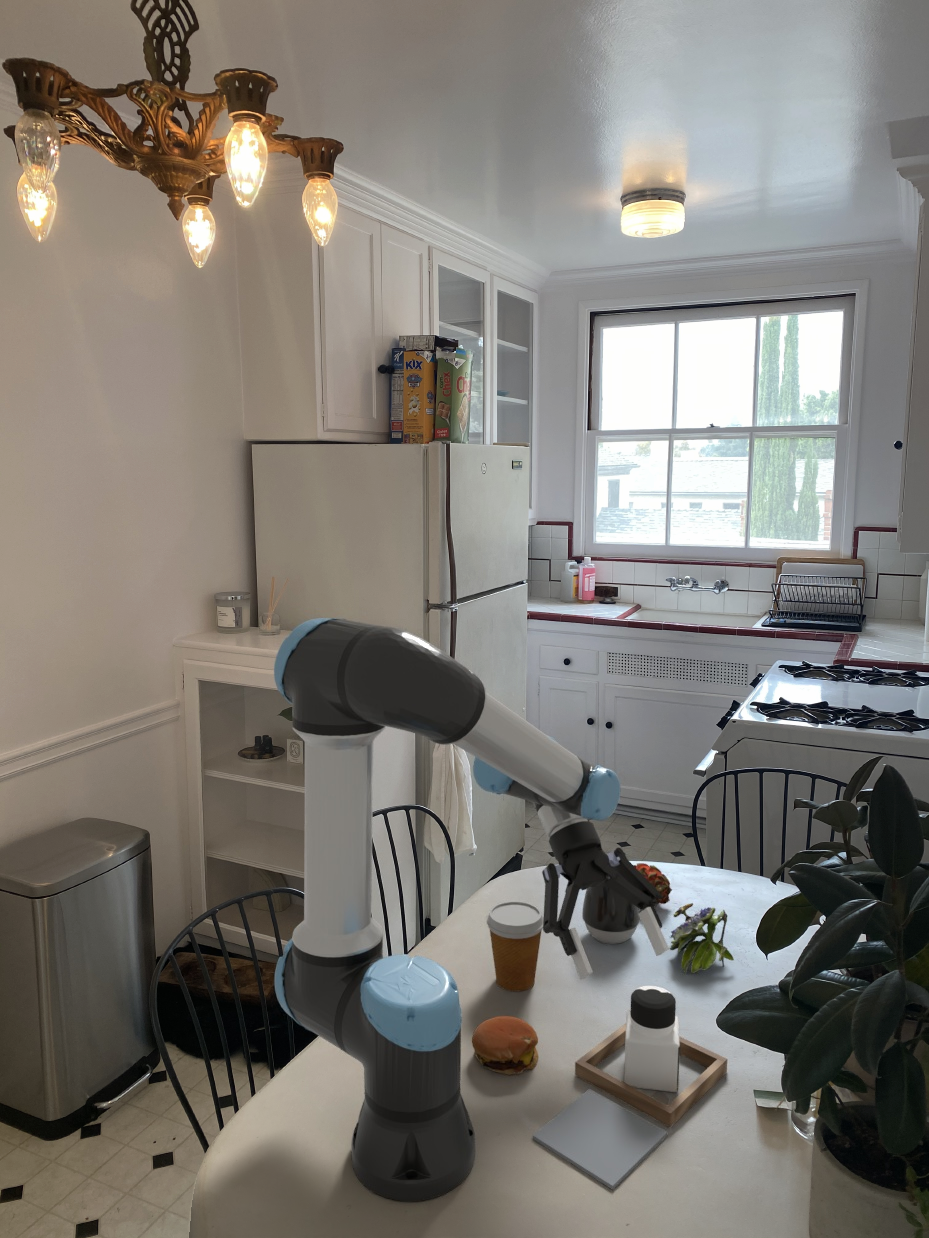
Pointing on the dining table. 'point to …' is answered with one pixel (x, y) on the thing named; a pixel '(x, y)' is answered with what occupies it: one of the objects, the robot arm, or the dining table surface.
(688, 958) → the passion flower
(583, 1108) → the slate mat
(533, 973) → the disposable coffee cup
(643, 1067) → the medicine bottle
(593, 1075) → the walnut caddy
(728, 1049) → the dining table surface
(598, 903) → the grey egg-shaped container
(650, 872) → the dragon fruit
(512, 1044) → the burger
